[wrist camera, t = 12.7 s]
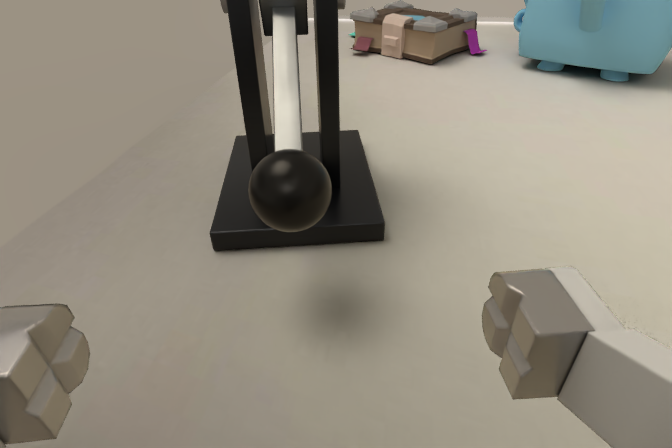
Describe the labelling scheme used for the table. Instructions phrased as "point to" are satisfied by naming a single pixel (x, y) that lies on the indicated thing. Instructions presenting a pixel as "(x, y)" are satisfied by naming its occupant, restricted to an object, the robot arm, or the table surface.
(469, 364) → the table surface
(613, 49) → the teapot
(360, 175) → the switch bracket
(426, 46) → the book
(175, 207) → the table surface
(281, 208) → the lever
